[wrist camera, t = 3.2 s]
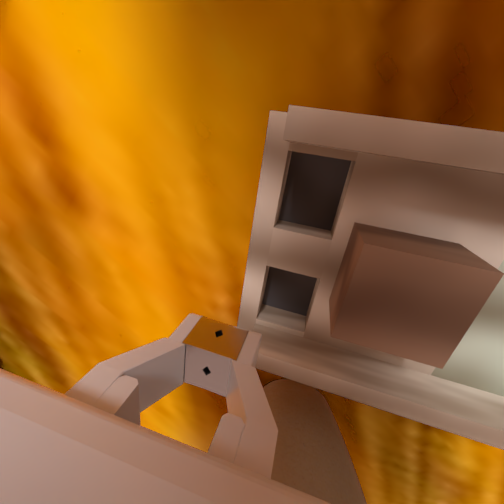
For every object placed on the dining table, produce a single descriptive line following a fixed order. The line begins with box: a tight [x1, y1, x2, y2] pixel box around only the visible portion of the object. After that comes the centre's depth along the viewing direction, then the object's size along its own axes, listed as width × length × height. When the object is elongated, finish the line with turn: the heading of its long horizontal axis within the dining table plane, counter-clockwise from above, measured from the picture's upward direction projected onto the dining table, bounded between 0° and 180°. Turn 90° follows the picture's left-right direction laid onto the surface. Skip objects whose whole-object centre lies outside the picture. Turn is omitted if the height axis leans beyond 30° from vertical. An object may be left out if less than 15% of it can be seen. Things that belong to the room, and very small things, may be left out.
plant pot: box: [263, 379, 367, 504], centre depth 19 cm, size 15×15×16 cm
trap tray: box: [237, 105, 504, 450], centre depth 16 cm, size 17×22×6 cm
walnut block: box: [329, 222, 504, 369], centre depth 14 cm, size 6×6×4 cm
